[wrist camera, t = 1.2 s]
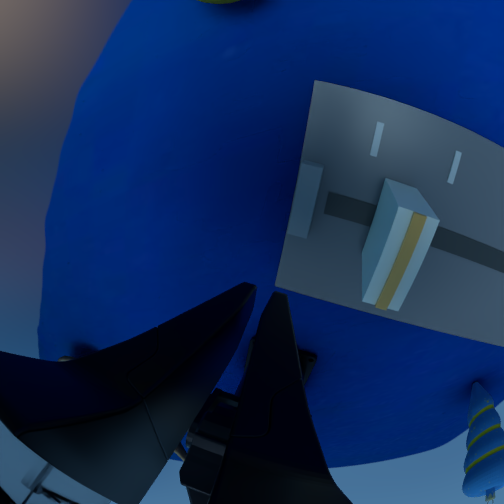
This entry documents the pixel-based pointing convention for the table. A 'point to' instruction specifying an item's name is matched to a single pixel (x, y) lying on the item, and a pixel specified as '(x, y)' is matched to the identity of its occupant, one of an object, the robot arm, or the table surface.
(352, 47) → the table surface
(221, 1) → the lemon
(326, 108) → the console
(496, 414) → the ornament
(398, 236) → the fader tab
